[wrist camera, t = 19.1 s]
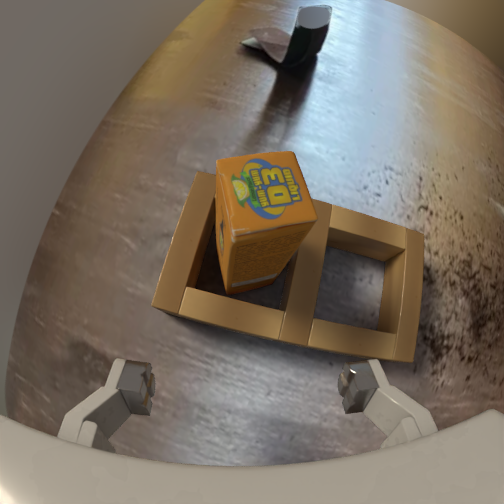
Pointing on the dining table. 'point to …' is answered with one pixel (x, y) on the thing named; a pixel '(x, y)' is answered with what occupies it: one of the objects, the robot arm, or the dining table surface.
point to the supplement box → (259, 217)
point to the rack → (301, 282)
